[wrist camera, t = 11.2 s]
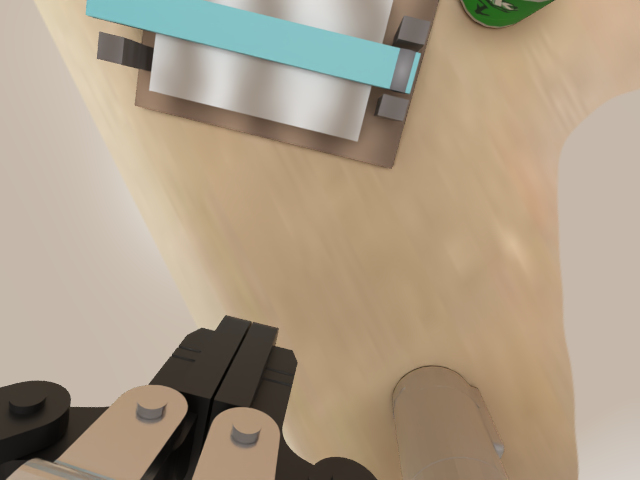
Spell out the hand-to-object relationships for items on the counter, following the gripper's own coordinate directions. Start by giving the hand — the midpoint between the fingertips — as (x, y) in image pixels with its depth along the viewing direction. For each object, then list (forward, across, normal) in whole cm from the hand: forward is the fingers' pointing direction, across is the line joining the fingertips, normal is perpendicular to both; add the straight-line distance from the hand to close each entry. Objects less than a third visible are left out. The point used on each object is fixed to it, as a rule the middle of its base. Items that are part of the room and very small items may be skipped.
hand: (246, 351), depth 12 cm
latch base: (+35, +7, -11) cm, 37 cm away
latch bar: (+27, +8, -11) cm, 30 cm away
